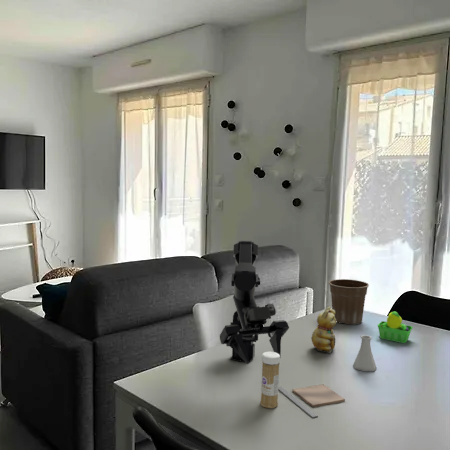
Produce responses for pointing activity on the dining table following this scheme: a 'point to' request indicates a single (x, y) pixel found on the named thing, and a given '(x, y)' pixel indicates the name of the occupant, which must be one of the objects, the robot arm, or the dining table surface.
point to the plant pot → (348, 300)
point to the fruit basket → (394, 329)
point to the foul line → (297, 402)
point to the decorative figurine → (325, 331)
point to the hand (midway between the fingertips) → (263, 360)
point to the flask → (365, 356)
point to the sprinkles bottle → (270, 379)
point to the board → (318, 395)
